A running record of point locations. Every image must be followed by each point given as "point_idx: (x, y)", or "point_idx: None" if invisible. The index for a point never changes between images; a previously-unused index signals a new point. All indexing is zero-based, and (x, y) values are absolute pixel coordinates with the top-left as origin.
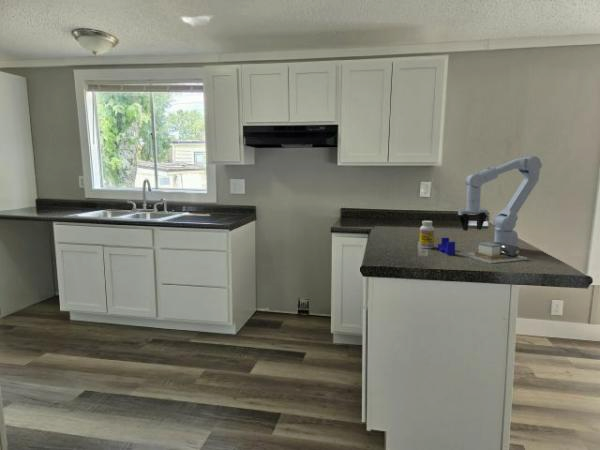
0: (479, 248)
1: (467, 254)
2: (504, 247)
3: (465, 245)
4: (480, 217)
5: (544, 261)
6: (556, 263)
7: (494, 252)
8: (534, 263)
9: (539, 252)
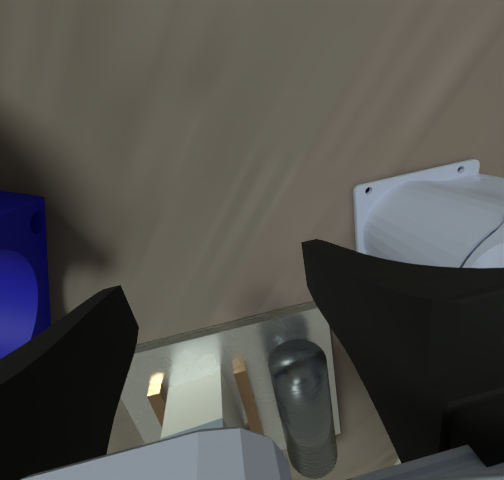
0: (166, 421)
1: None
2: (288, 438)
3: (251, 38)
4: (394, 400)
5: (375, 439)
6: (387, 458)
7: None
8: None
9: None
